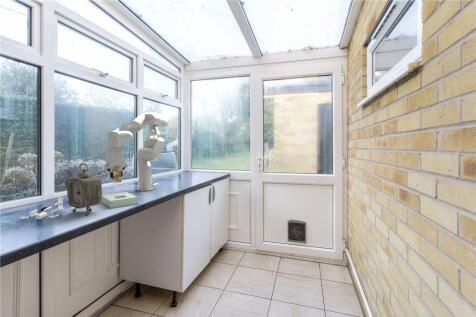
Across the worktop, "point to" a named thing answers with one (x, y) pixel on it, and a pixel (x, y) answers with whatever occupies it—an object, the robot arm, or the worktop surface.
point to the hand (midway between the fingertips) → (116, 177)
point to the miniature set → (44, 214)
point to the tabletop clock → (84, 191)
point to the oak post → (116, 174)
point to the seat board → (119, 199)
